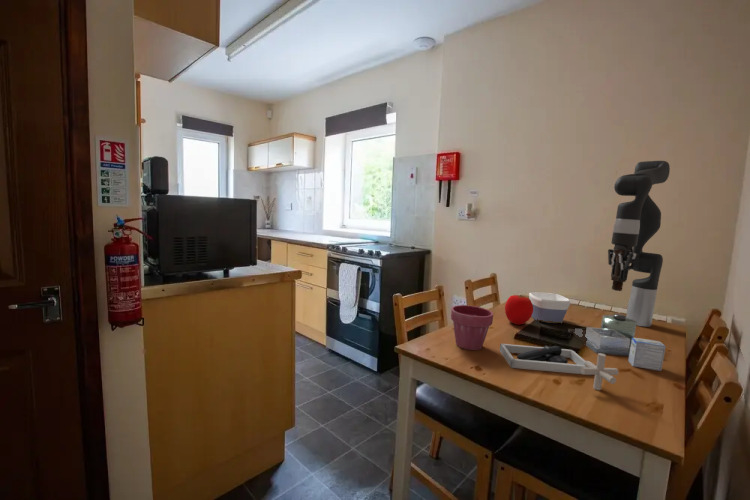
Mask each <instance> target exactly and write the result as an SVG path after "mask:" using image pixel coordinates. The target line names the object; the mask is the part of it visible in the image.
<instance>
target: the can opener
mask: <svg viewBox="0 0 750 500" xmlns="http://www.w3.org/2000/svg"><path fill="white" fill-rule="evenodd" d="M543 347H544V348H540V349H535V350H531V351H528V352H525V353H522V354H521V353H518V354H517V355H516V359H522V360H533V361H544V362H555V363H566V364H568V362H569V361H568V358H566V357H564V356H562V355H560V354H561V353H562V350H561V349H562V348H561V347H560V346H557V345H554V346H550V345H549V346H548V345H544V346H543Z"/></svg>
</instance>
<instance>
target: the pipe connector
mask: <svg viewBox="0 0 750 500" xmlns="http://www.w3.org/2000/svg"><path fill="white" fill-rule="evenodd" d="M606 357H607V354H602V353H597V358H596V359H597V360H596V364H594V362H591V361H589V360H585V363H584V365H585V366H586V367H587V368H583V367H582V368H581V369H580V371H581V373H582V374H581V375H586V374H588V375H587V376H592V375H594V381H593V386H592V388H593V389H594V390H597V391H601V390H602V384H603V379H604V380H606V382H608V383H610V384H611V385H614V384H616V382H617V378H616V377H615V376H618V375H619V370H618V368H616V367H605V364H606Z"/></svg>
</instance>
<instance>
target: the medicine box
mask: <svg viewBox="0 0 750 500" xmlns="http://www.w3.org/2000/svg"><path fill="white" fill-rule="evenodd" d="M665 352H666V345H665V344H663V343H662V342H661V341H660V340H654V339H648V338H646V339H645V338H641V337H639V338H638V337H634V338H632V341H631V347H630V353H629V356H628V362H629V364H630V365H631V366H632V367H635V368H642V369H647V370H652V371H657V372H658V371H659V372H662V369H663V364H664V358H665Z"/></svg>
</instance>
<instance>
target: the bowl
mask: <svg viewBox="0 0 750 500" xmlns="http://www.w3.org/2000/svg"><path fill="white" fill-rule="evenodd" d="M528 297H529V299H530V300H531V302H532V304H533V314H532V316H531V318H532V319H534V320H535V321H537V319H538V320H543V321H553V322H561V324H562V323H563V321H564V319H565V316H566V314H567V311H568V310H569V307H570V305H571V301H570V299H569V298H567V297H565V296H563V295H560V294H557V293H551V292H539V291H537V292H536V291H532V292H529V294H528Z"/></svg>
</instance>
